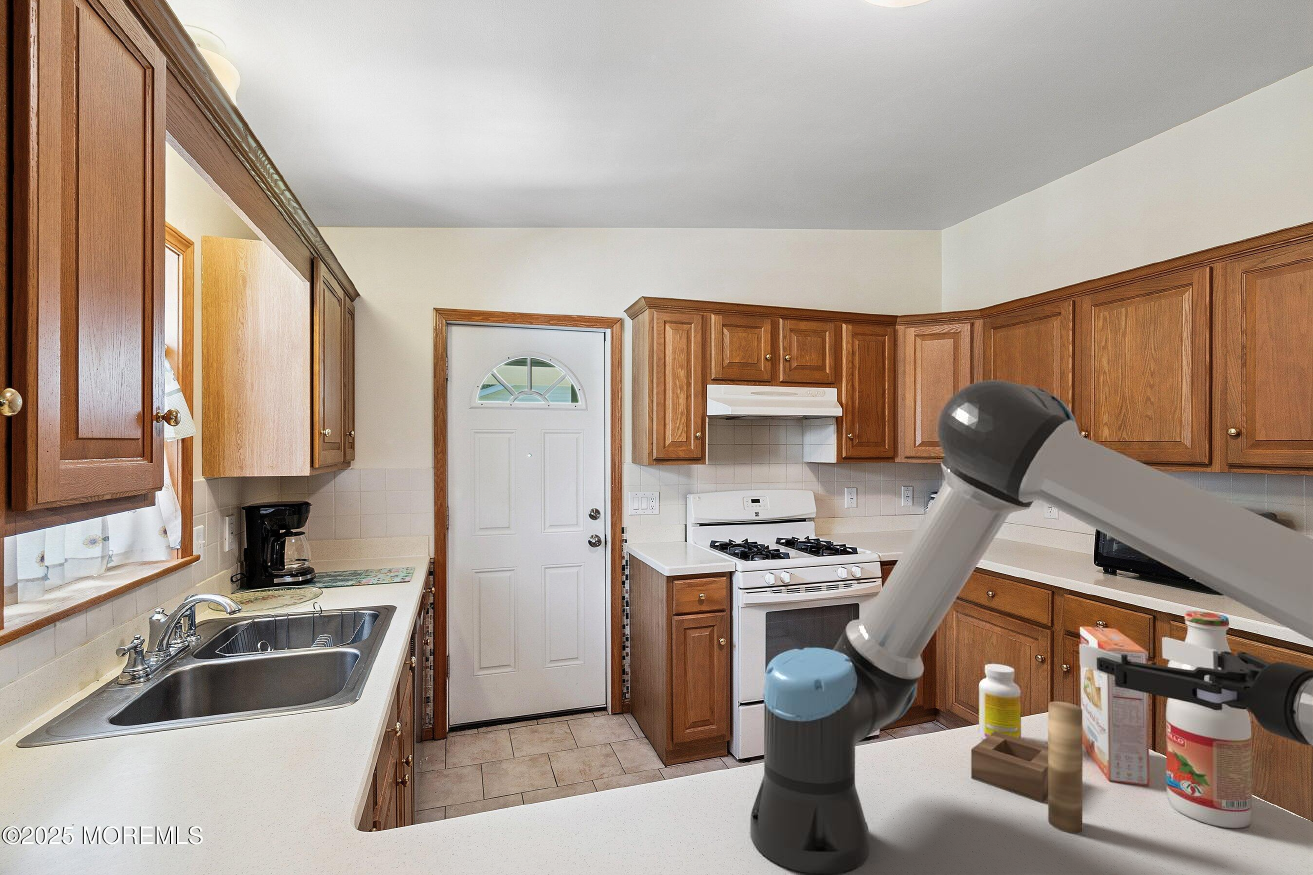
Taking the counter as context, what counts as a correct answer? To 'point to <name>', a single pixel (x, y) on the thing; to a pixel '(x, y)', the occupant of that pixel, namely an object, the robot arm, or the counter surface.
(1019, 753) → the socket block
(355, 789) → the counter surface
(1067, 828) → the dowel
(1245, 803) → the fruit juice
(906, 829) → the counter surface
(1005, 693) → the supplement bottle
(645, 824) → the counter surface
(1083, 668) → the cracker box
